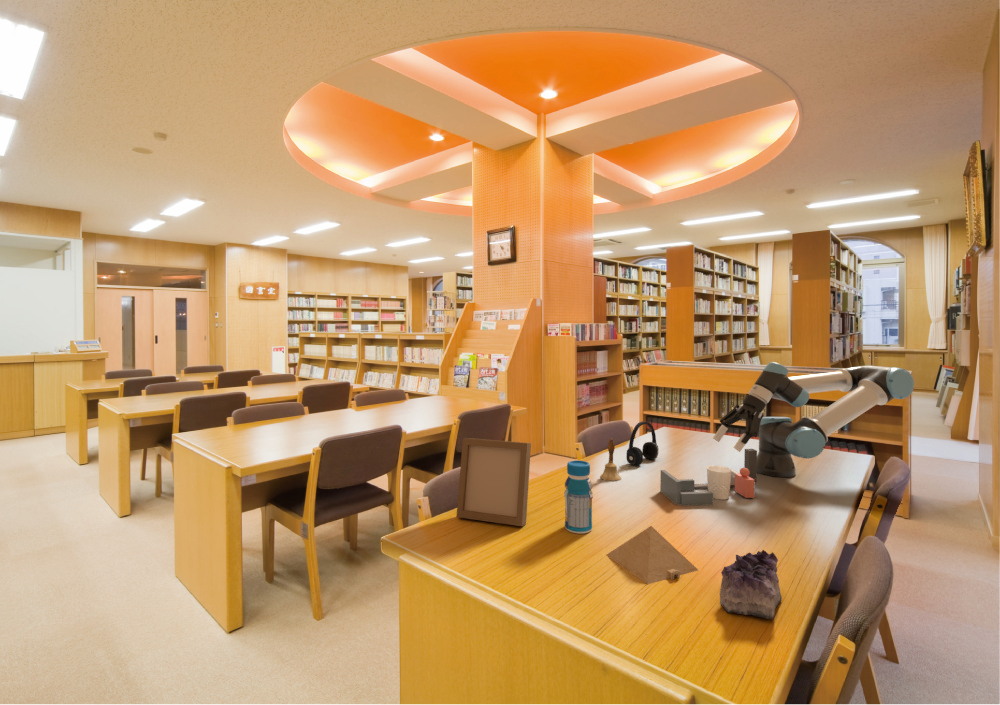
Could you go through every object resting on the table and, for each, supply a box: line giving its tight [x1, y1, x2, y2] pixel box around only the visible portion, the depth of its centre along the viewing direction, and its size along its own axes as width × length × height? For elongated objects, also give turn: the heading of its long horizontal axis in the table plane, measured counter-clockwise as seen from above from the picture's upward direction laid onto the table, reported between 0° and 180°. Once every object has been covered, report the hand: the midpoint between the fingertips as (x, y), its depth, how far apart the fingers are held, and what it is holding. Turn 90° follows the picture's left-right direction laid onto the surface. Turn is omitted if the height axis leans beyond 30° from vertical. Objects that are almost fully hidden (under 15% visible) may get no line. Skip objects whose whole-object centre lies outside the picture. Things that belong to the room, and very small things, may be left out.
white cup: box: [706, 465, 732, 500], centre depth 169 cm, size 8×8×10 cm
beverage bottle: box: [563, 459, 594, 535], centre depth 142 cm, size 8×8×20 cm
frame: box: [659, 469, 714, 507], centre depth 168 cm, size 12×15×8 cm
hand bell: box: [600, 438, 622, 482], centre depth 191 cm, size 8×8×16 cm
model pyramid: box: [606, 525, 699, 585], centre depth 121 cm, size 17×17×10 cm
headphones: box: [626, 421, 659, 467], centre depth 213 cm, size 20×7×18 cm, turn 133°
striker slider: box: [730, 448, 758, 499], centre depth 174 cm, size 12×15×14 cm
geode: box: [719, 549, 783, 620], centre depth 105 cm, size 20×12×10 cm, turn 141°
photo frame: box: [456, 437, 532, 527], centre depth 153 cm, size 15×22×25 cm
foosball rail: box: [694, 483, 735, 490], centre depth 179 cm, size 30×3×1 cm, turn 94°
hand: (725, 444), depth 182 cm, fingers open, 13 cm apart
